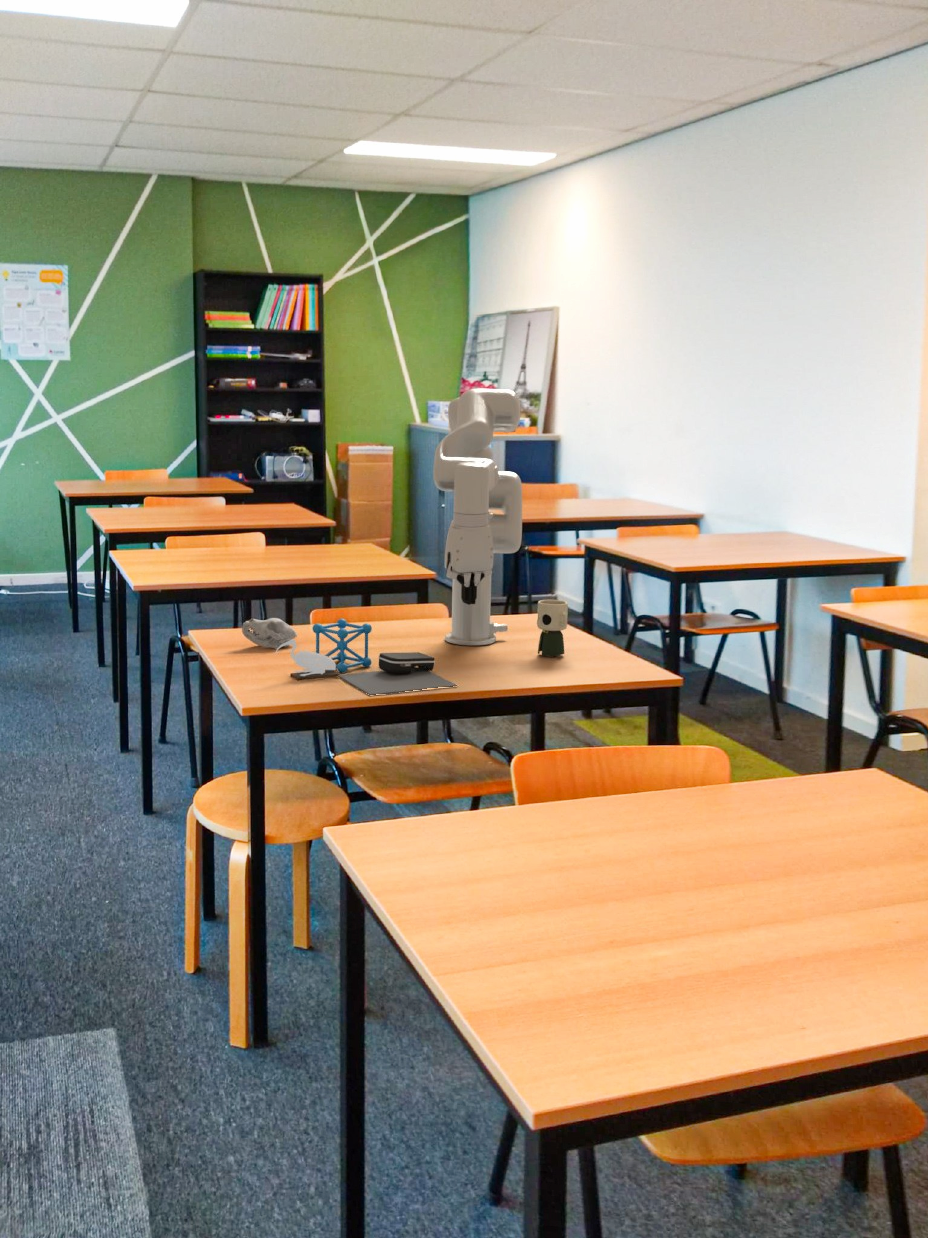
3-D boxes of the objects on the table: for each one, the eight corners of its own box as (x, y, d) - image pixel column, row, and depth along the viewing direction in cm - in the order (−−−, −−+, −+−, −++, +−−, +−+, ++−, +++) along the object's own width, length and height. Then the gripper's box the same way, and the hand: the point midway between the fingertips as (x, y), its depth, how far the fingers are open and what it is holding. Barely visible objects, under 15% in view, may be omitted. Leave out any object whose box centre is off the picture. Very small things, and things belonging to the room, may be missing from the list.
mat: (420, 668, 281) (420, 666, 281) (457, 687, 265) (457, 685, 265) (337, 676, 272) (337, 674, 272) (370, 696, 256) (370, 694, 256)
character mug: (525, 652, 299) (527, 599, 296) (549, 650, 302) (551, 597, 300) (552, 662, 290) (554, 607, 287) (576, 659, 293) (579, 604, 291)
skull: (302, 637, 298) (266, 606, 292) (277, 665, 297) (240, 634, 292) (295, 629, 305) (259, 598, 300) (270, 656, 304) (234, 625, 299)
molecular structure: (310, 667, 280) (310, 623, 278) (341, 659, 288) (341, 617, 286) (342, 674, 274) (342, 629, 272) (373, 667, 282) (374, 623, 280)
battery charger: (417, 668, 282) (374, 669, 275) (419, 651, 281) (376, 652, 275) (434, 674, 276) (391, 676, 270) (436, 657, 276) (393, 658, 269)
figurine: (279, 683, 265) (278, 643, 264) (271, 679, 269) (271, 639, 268) (340, 677, 272) (340, 637, 270) (332, 672, 276) (332, 634, 274)
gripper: (492, 515, 276) (490, 596, 281) (431, 519, 269) (430, 602, 274) (509, 520, 270) (507, 603, 274) (447, 525, 263) (445, 610, 267)
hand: (468, 602), depth 274 cm, fingers closed
